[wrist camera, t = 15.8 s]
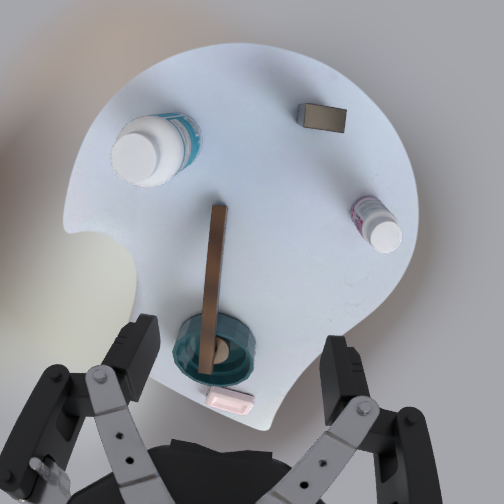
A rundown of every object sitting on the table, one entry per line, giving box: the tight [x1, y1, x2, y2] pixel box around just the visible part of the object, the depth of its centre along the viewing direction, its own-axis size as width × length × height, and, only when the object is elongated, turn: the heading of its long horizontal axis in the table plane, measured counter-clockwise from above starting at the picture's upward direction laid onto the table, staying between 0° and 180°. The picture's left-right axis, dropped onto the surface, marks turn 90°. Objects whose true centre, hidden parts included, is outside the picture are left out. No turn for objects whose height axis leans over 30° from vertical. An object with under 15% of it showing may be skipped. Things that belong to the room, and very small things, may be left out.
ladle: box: [198, 205, 230, 375], centre depth 44 cm, size 24×5×11 cm, turn 176°
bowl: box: [172, 314, 255, 387], centre depth 49 cm, size 13×13×5 cm
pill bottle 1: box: [111, 113, 202, 188], centre depth 31 cm, size 8×7×14 cm
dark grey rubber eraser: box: [297, 103, 347, 133], centre depth 30 cm, size 2×4×9 cm, turn 85°
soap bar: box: [205, 386, 255, 415], centre depth 57 cm, size 5×9×2 cm, turn 70°
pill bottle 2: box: [351, 196, 402, 253], centre depth 35 cm, size 5×5×8 cm
